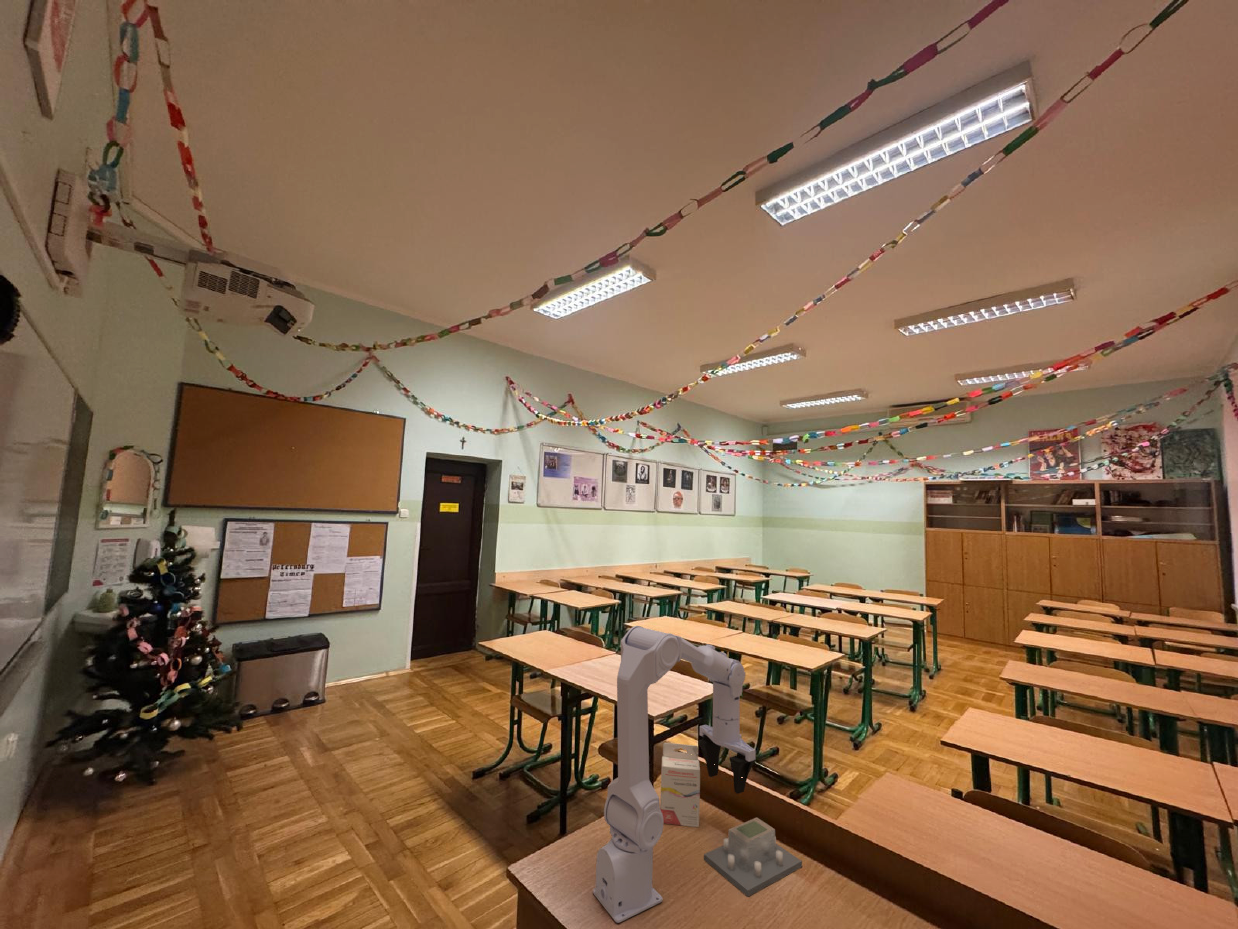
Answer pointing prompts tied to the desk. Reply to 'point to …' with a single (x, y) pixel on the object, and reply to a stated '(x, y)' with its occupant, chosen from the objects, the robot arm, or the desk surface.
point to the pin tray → (755, 877)
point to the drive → (751, 843)
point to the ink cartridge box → (680, 785)
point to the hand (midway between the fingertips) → (725, 783)
